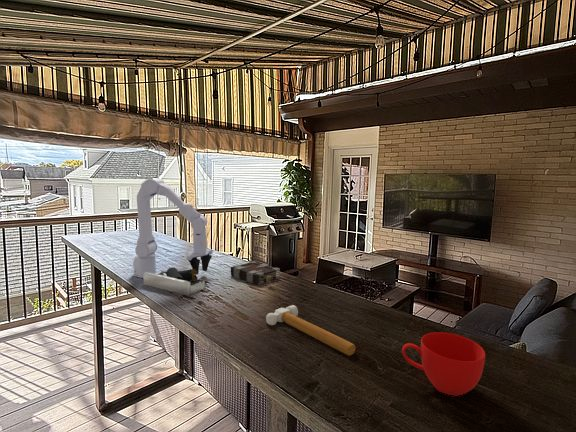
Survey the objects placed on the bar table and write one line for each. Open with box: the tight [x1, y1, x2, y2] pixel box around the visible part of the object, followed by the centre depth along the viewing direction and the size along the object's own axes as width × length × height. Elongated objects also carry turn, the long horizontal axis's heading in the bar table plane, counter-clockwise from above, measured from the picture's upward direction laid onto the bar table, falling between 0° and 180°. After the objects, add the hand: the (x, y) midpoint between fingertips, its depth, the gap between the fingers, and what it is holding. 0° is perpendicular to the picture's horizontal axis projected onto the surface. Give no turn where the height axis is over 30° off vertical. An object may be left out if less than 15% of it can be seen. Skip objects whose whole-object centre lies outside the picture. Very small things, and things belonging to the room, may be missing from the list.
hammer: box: [265, 304, 356, 356], centre depth 100 cm, size 12×4×30 cm
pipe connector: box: [165, 266, 199, 283], centre depth 144 cm, size 12×5×15 cm
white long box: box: [143, 270, 206, 297], centre depth 139 cm, size 25×10×5 cm, turn 61°
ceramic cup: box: [401, 331, 486, 397], centre depth 76 cm, size 13×17×10 cm
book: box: [230, 260, 281, 285], centre depth 151 cm, size 15×25×5 cm, turn 48°
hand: (200, 272), depth 152 cm, fingers open, 5 cm apart
